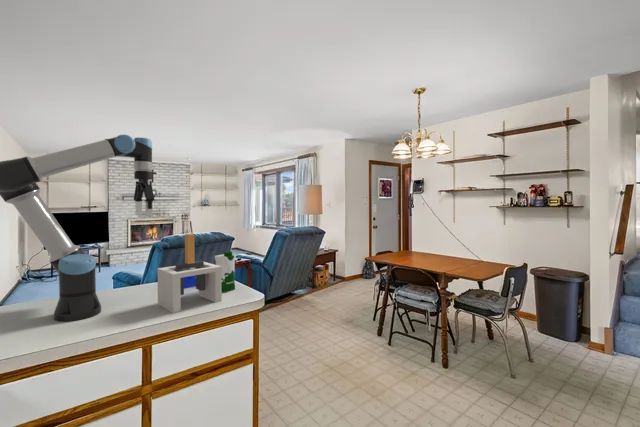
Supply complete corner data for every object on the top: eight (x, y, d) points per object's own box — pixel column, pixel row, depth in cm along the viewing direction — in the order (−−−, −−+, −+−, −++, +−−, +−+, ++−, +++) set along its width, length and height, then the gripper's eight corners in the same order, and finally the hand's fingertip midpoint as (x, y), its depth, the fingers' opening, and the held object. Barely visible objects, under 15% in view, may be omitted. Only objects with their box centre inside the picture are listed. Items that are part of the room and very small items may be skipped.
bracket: (182, 289, 167) (182, 272, 167) (176, 286, 173) (176, 269, 173) (215, 283, 180) (215, 267, 180) (208, 280, 186) (208, 265, 186)
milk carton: (224, 293, 161) (224, 253, 160) (212, 290, 165) (212, 251, 164) (237, 289, 168) (237, 251, 167) (225, 286, 173) (225, 249, 172)
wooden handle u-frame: (179, 295, 139) (178, 235, 138) (174, 293, 143) (173, 234, 142) (205, 289, 148) (205, 233, 147) (200, 287, 152) (199, 232, 150)
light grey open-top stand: (173, 312, 132) (173, 274, 131) (157, 304, 143) (157, 268, 142) (221, 300, 148) (221, 266, 148) (204, 293, 159) (204, 261, 158)
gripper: (161, 170, 148) (162, 216, 149) (142, 172, 165) (143, 214, 166) (144, 168, 143) (144, 216, 144) (126, 171, 160) (126, 214, 160)
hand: (143, 215), depth 155 cm, fingers open, 13 cm apart
